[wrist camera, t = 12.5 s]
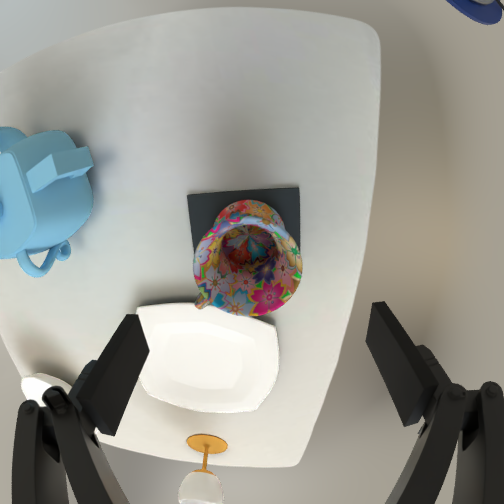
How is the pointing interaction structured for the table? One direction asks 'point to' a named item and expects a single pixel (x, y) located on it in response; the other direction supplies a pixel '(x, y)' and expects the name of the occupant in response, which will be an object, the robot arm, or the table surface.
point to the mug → (247, 261)
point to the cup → (202, 474)
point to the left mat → (211, 204)
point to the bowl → (42, 387)
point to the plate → (207, 357)
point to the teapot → (41, 195)
